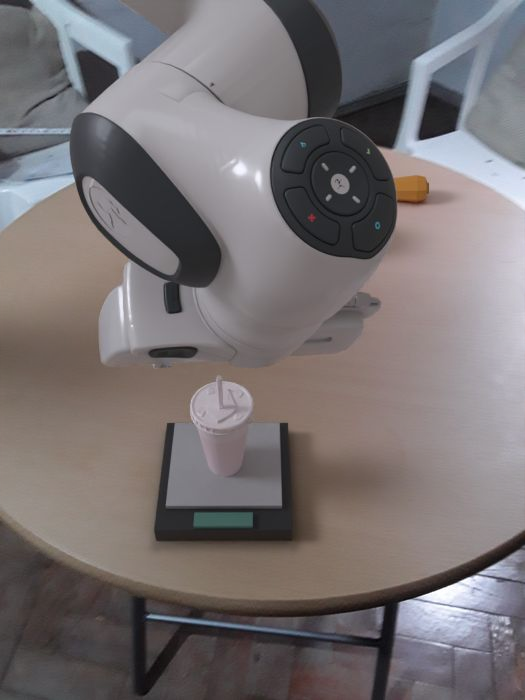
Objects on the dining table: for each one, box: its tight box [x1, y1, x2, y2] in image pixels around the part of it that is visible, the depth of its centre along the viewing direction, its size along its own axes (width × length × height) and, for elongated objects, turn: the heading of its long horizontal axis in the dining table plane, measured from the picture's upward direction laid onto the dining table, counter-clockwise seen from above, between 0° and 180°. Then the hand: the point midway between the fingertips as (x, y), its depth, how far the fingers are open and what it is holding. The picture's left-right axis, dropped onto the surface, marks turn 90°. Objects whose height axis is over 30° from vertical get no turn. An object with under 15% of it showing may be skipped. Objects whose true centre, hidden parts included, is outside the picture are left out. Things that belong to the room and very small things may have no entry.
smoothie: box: [189, 375, 255, 476], centre depth 69 cm, size 6×6×14 cm
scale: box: [153, 422, 293, 542], centre depth 74 cm, size 14×14×3 cm
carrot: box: [393, 174, 430, 203], centre depth 116 cm, size 20×4×4 cm, turn 84°
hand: (214, 356), depth 59 cm, fingers open, 8 cm apart
